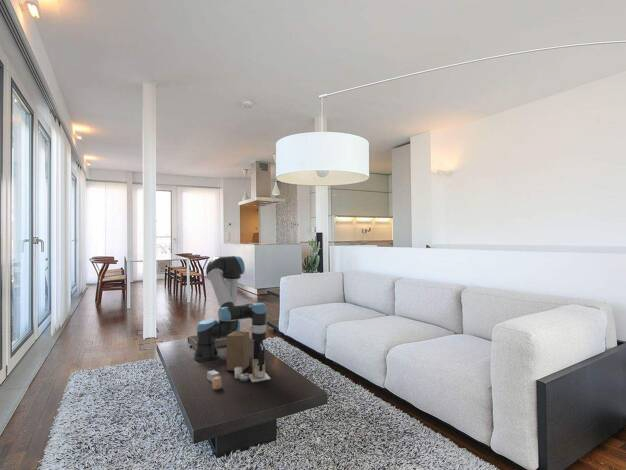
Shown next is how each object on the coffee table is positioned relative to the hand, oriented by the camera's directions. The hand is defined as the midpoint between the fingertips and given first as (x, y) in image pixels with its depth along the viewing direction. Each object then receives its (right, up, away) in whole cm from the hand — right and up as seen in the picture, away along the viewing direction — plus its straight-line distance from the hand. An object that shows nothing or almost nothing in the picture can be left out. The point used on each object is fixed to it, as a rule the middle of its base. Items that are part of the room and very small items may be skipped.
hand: (258, 374), depth 196 cm
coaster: (0, -1, 0) cm, 1 cm away
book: (-43, -3, +65) cm, 78 cm away
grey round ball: (-7, -2, -3) cm, 8 cm away
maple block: (0, 0, 0) cm, 0 cm away
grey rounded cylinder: (-11, -1, 0) cm, 11 cm away
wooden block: (-14, -2, +14) cm, 20 cm away
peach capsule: (-19, -1, -14) cm, 24 cm away
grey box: (-24, -2, -3) cm, 24 cm away
